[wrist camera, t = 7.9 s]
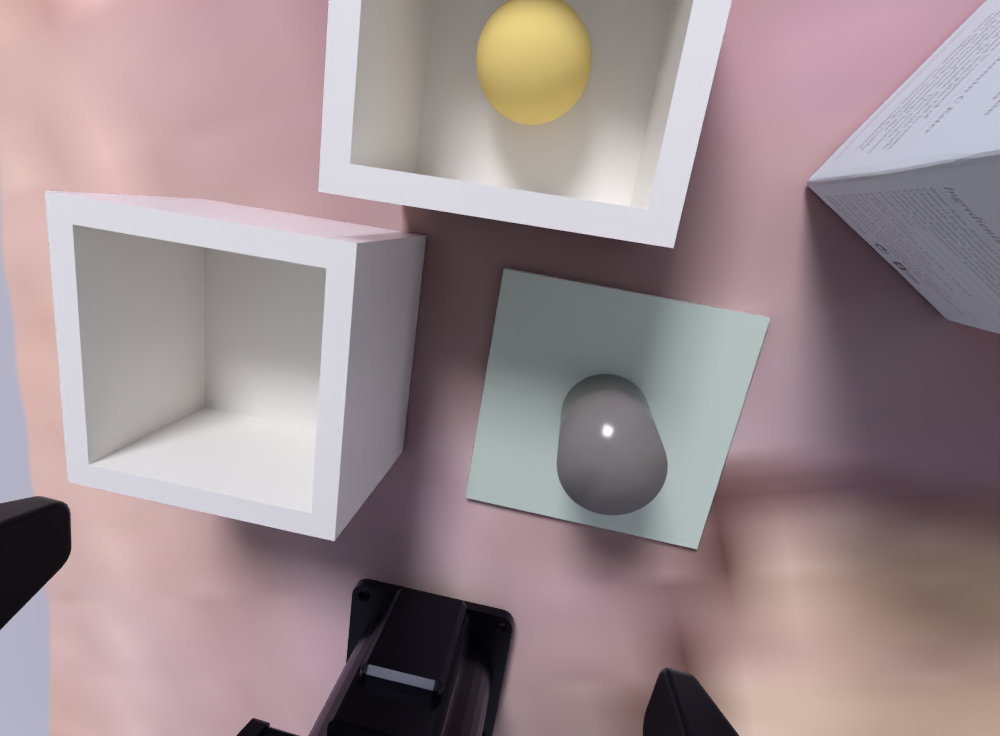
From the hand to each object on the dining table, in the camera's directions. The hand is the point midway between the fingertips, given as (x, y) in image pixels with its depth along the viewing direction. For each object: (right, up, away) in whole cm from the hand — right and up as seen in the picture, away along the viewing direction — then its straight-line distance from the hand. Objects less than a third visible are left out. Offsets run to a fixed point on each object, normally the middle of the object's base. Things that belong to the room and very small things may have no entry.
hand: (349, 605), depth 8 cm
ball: (+3, +12, +8) cm, 15 cm away
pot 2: (+3, +12, +9) cm, 15 cm away
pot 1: (-5, +5, +12) cm, 14 cm away
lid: (+6, +2, +12) cm, 13 cm away
